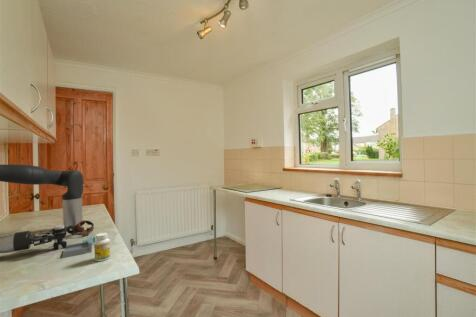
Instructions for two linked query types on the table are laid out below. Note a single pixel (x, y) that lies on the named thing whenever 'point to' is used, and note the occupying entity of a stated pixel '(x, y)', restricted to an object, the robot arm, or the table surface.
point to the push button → (59, 242)
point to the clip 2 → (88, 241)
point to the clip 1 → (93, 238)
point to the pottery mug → (80, 228)
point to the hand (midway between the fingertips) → (65, 234)
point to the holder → (78, 248)
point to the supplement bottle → (102, 247)
